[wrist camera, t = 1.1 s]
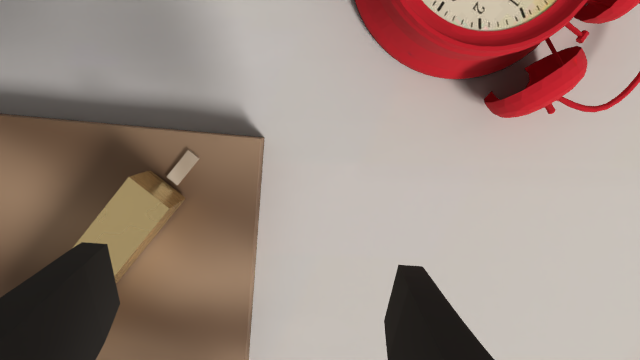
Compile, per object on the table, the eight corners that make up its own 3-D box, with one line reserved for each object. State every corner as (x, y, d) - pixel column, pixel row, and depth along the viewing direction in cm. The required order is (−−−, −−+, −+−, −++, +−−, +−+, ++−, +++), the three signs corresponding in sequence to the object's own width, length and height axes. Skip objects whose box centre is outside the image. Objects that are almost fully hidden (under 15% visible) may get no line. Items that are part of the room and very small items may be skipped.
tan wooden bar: (43, 393, 20) (9, 427, 18) (-14, 354, 19) (-55, 384, 17) (196, 206, 19) (181, 217, 16) (139, 161, 18) (116, 167, 16)
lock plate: (242, 446, 22) (236, 472, 21) (-133, 422, 22) (-171, 447, 20) (264, 137, 20) (260, 139, 18) (-158, 99, 19) (-202, 97, 18)
